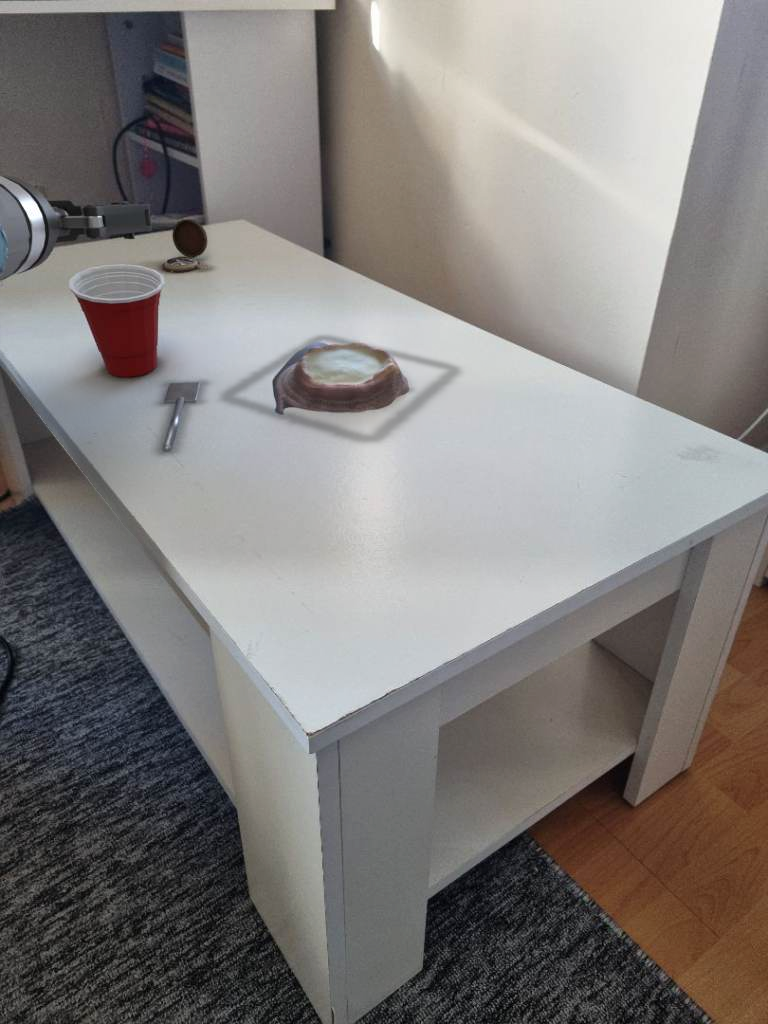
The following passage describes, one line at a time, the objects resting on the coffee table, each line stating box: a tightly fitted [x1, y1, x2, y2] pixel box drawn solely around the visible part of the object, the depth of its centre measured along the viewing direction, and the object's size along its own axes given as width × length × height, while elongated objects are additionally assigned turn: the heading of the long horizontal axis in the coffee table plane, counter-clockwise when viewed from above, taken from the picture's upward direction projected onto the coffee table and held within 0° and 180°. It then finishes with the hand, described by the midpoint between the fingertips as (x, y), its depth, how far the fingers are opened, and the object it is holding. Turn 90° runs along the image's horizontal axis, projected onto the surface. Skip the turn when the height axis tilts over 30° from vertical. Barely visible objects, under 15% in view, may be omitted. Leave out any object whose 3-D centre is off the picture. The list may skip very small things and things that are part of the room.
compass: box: [161, 217, 210, 274], centre depth 132 cm, size 8×8×7 cm
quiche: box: [271, 342, 410, 416], centre depth 96 cm, size 21×20×4 cm
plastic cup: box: [68, 263, 166, 379], centre depth 97 cm, size 11×11×12 cm
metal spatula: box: [161, 381, 201, 453], centre depth 90 cm, size 4×16×1 cm, turn 5°
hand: (59, 215), depth 83 cm, fingers open, 13 cm apart
